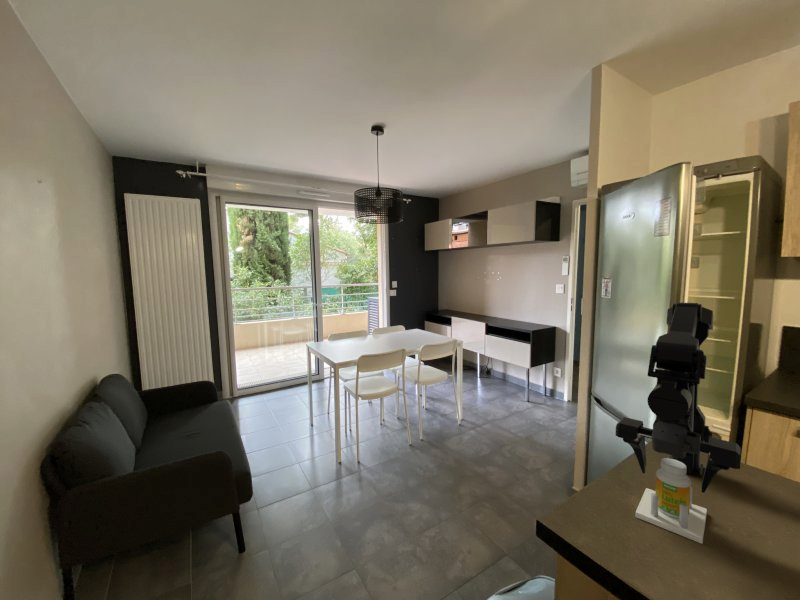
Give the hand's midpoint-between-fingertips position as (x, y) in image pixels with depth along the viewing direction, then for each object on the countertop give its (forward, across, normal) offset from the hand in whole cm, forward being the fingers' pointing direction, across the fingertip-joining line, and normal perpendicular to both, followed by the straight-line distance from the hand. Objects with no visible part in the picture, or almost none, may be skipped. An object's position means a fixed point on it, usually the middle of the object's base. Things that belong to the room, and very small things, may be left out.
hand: (672, 481), depth 67 cm
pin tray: (+7, 0, 0) cm, 7 cm away
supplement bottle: (+6, 0, 0) cm, 6 cm away
